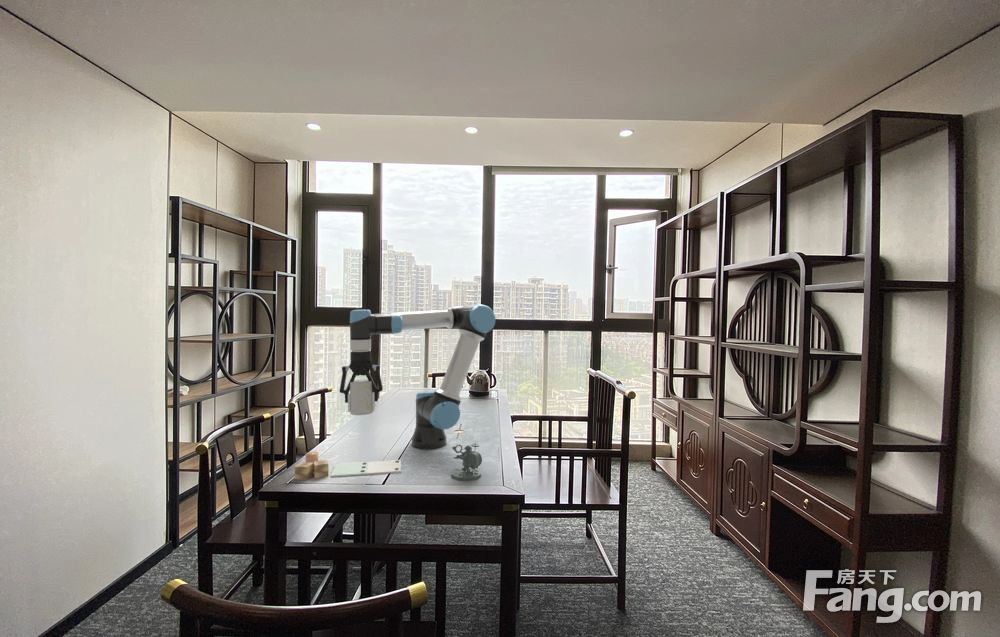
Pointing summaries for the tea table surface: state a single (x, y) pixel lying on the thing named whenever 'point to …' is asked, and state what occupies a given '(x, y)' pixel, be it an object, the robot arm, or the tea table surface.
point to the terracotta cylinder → (311, 457)
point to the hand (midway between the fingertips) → (361, 410)
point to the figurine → (467, 464)
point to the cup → (361, 397)
